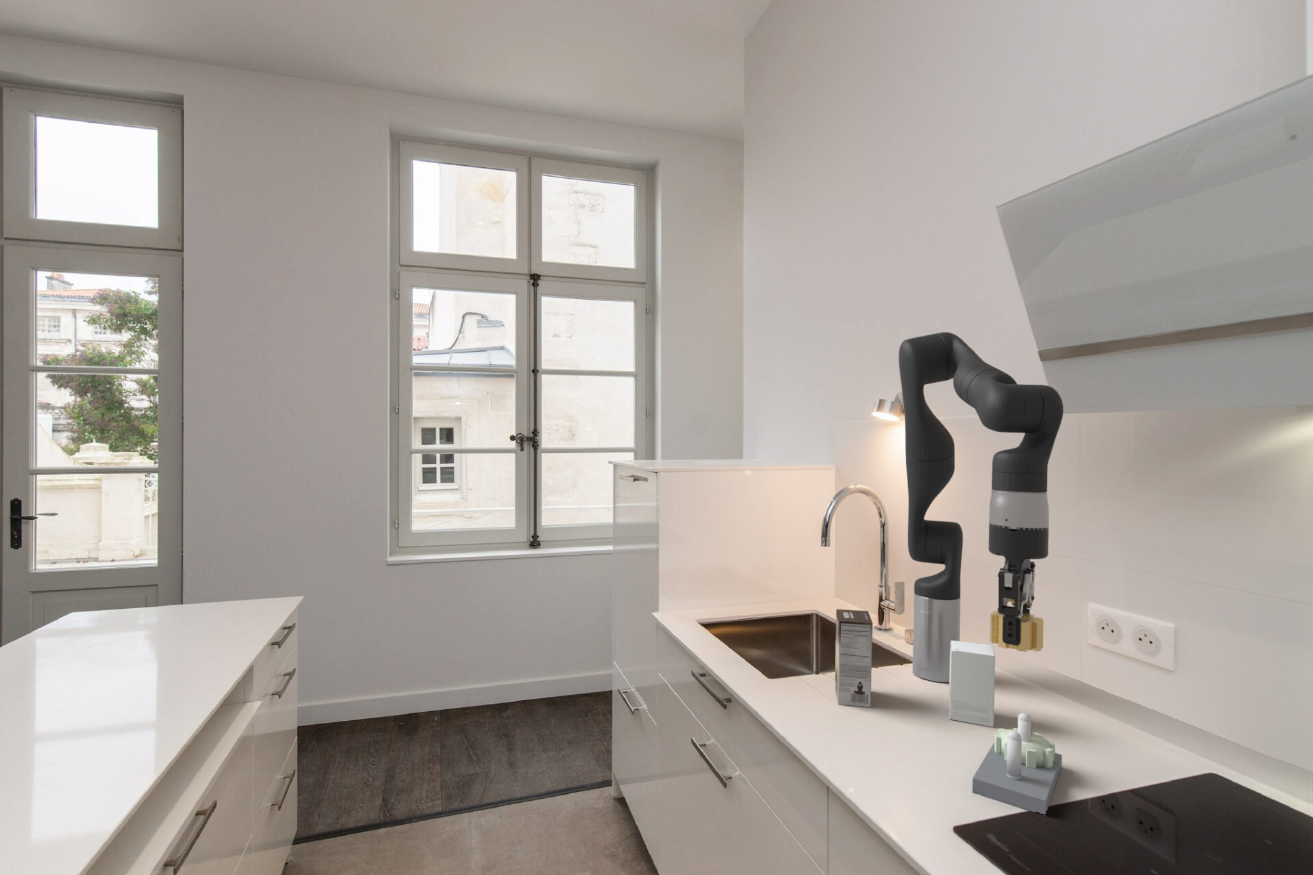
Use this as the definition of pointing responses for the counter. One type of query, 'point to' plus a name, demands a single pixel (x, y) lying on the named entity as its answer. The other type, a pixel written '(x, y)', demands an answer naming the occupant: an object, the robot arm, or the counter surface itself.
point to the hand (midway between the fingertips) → (1016, 638)
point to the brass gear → (1029, 632)
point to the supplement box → (972, 683)
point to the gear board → (1019, 768)
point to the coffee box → (853, 657)
